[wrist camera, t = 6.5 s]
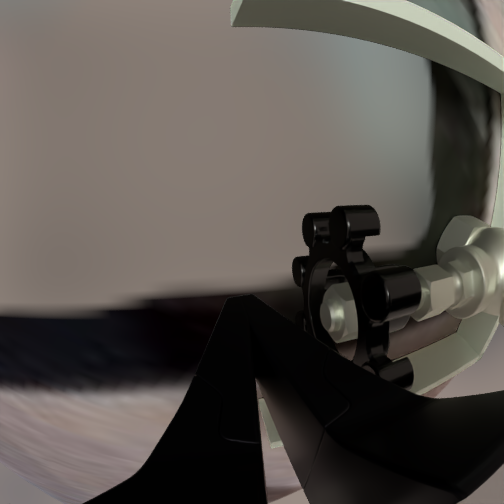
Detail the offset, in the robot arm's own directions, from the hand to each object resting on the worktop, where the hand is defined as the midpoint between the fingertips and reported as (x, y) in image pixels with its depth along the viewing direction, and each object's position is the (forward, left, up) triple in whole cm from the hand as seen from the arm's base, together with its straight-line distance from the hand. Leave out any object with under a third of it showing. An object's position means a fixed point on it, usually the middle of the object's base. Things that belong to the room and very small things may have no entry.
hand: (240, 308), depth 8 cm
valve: (-1, -8, -3) cm, 9 cm away
